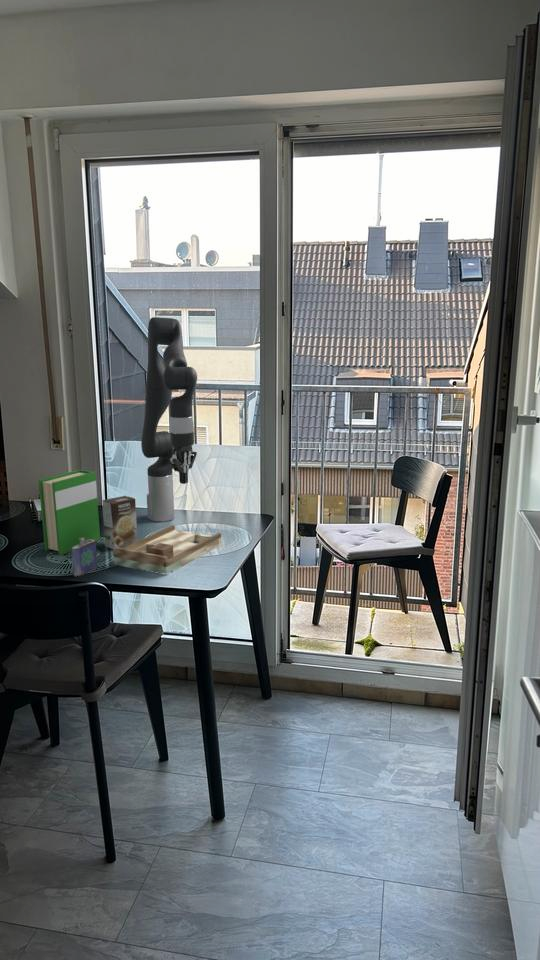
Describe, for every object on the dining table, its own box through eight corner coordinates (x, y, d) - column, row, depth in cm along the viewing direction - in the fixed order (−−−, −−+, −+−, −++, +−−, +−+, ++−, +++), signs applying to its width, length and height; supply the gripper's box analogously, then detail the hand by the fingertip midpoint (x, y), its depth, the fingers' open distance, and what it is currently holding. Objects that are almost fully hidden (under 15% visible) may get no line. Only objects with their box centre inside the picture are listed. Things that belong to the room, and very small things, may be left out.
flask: (78, 577, 204) (75, 543, 202) (70, 575, 206) (67, 541, 203) (99, 567, 212) (97, 534, 210) (92, 566, 214) (89, 533, 211)
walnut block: (150, 560, 211) (149, 547, 210) (160, 555, 215) (159, 542, 214) (163, 562, 208) (163, 550, 207) (173, 557, 213) (173, 545, 212)
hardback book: (60, 554, 224) (54, 483, 218) (45, 550, 228) (38, 480, 222) (100, 539, 238) (95, 472, 233) (85, 535, 242) (80, 469, 236)
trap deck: (114, 564, 214) (113, 547, 213) (172, 536, 241) (172, 521, 240) (166, 575, 205) (165, 557, 204) (221, 544, 232) (220, 528, 231)
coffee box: (114, 550, 227) (111, 503, 223) (104, 546, 231) (101, 500, 227) (138, 544, 233) (135, 498, 229) (127, 539, 238) (125, 494, 234)
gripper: (184, 426, 226) (186, 477, 230) (159, 432, 215) (162, 486, 219) (203, 428, 222) (204, 480, 227) (179, 434, 211) (181, 489, 215)
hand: (183, 483), depth 223 cm, fingers closed
